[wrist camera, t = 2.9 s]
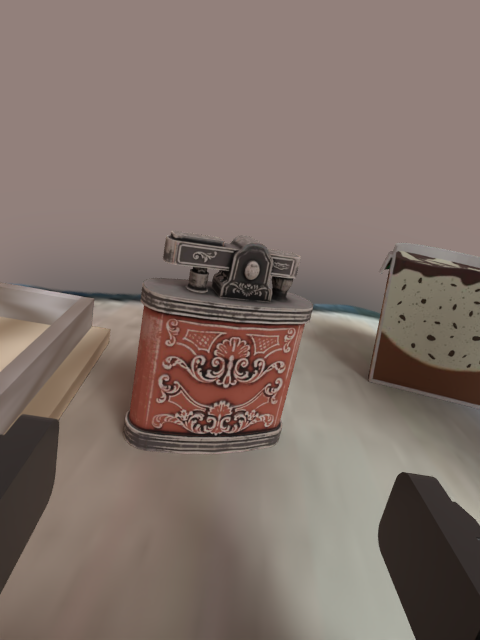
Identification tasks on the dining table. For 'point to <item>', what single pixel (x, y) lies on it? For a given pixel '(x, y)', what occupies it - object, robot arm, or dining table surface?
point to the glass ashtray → (44, 351)
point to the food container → (430, 324)
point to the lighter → (216, 348)
